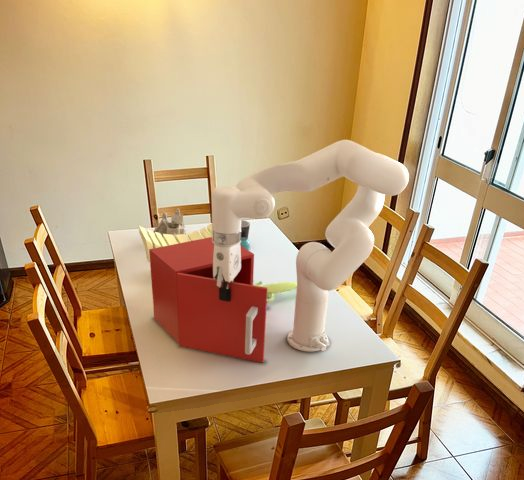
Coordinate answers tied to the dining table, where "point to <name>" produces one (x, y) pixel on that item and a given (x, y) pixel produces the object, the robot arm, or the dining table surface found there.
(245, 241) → the beverage bottle
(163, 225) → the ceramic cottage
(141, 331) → the dining table surface
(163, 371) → the dining table surface
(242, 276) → the box
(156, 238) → the slatted curved stool
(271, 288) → the figurine
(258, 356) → the fridge door
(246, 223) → the coffee mug
